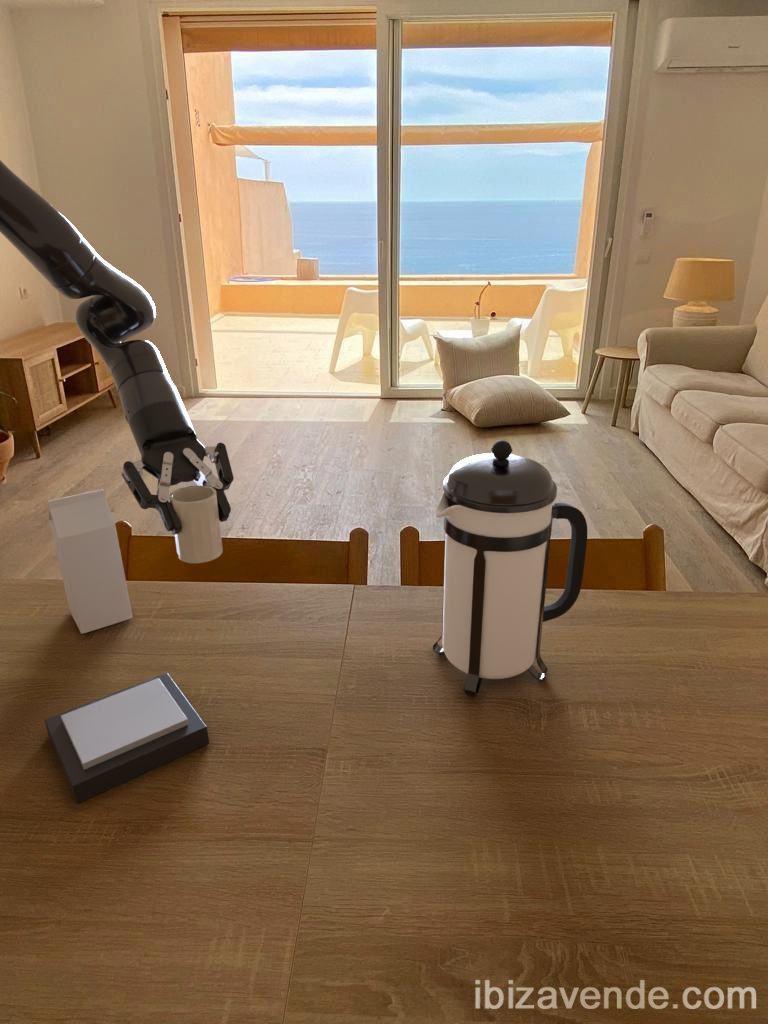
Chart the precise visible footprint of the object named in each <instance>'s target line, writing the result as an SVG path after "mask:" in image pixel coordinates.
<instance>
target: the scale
mask: <svg viewBox="0 0 768 1024" xmlns="http://www.w3.org/2000/svg"><path fill="white" fill-rule="evenodd" d="M44 723H45V727H46V731H47V734H48V737H49V739H50V742H51V745H52V747H53V750H54V752H55V755H56V757H57V760H58V761H59V764H60V767H61V769H62V771H63V773H64V776H65V778H66V781H67V783H68V786H69V788H70V791H71V793H72V795H73V798H74V800H75V802H76V804H77V805H78V804H80V803H82V802H85V801H87V800H88V799H91V798H93V797H95V796H97V795H100V794H102V793H104V792H107V791H109V790H112V788H115V787H117V786H119V785H122V784H124V783H126V782H128V781H130V780H133V779H134V778H137V777H139V776H141V775H144V774H146V773H148V772H150V771H152V770H154V769H157V768H159V767H162V766H163V765H165V764H168V763H170V762H172V761H174V760H176V759H178V758H182V756H185V755H187V754H190V753H192V752H195V751H196V750H199V749H201V748H203V747H205V746H207V745H209V744H210V739H209V733H208V726H207V725H206V723H204V721H203V719H202V718H201V717H200V715H199V714H198V712H197V711H196V710H195V708H194V707H193V705H191V703H190V702H189V700H188V699H187V697H186V696H185V695H184V693H183V692H182V691H181V689H180V688H179V687H178V686H177V684H176V682H175V681H174V680H173V679H172V677H171V675H170V674H169V673H168V672H164V673H163V674H160V675H156V676H154V677H152V678H150V679H147V680H144V681H142V682H139V683H137V684H134V685H131V686H129V687H126V688H124V689H123V688H122V689H121V690H118V691H116V692H113V693H110V694H108V695H105V696H102V697H101V698H97V699H95V700H92V701H89V702H87V703H83V704H82V705H79V706H75V707H74V708H71V709H69V710H66V711H64V712H61V713H58V714H56V715H53V716H50V717H48V718H45V719H44Z"/></svg>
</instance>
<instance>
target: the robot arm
mask: <svg viewBox="0 0 768 1024" xmlns="http://www.w3.org/2000/svg"><path fill="white" fill-rule="evenodd" d="M0 234H1V235H2V236H4V238H6V239H7V240H8V242H9V243H10V244H11V245H12V246H13V247H15V249H16V250H17V251H18V252H19V253H20V254H21V255H22V256H23V257H24V258H25V259H26V260H27V261H28V262H29V263H30V264H31V266H33V268H34V269H35V270H36V271H37V272H38V273H39V275H41V276H42V277H43V278H44V279H45V280H46V281H47V283H49V284H50V286H52V287H53V289H54V290H56V292H58V293H59V294H60V295H61V296H63V297H64V298H67V299H70V300H80V299H83V300H82V301H81V302H79V303H78V305H77V306H76V309H75V311H74V321H75V325H76V327H77V329H78V331H79V332H80V334H81V335H82V337H84V339H85V340H86V341H87V342H88V343H89V345H90V346H91V347H92V348H93V349H94V350H95V351H96V353H97V354H98V355H99V357H100V358H101V360H102V361H103V363H104V364H105V366H106V368H107V370H108V372H109V373H110V376H111V378H112V380H113V383H114V386H115V388H116V391H117V392H118V396H119V399H120V403H121V406H122V407H121V408H122V410H123V414H124V418H125V421H126V422H127V424H128V426H129V429H130V431H131V434H132V436H133V439H134V441H135V443H136V446H137V448H138V451H139V453H140V455H141V456H140V457H141V459H140V460H137V461H134V462H132V461H130V460H127V461H125V462H124V463H123V466H122V470H121V477H122V478H123V480H124V482H125V484H126V485H127V487H128V488H129V491H130V492H131V494H132V496H133V497H134V499H135V501H136V502H137V504H138V505H139V507H140V508H141V509H142V510H148V509H155V510H157V512H158V514H159V516H160V519H161V521H162V523H163V526H164V528H165V530H166V531H167V532H171V534H172V535H173V536H175V534H178V533H179V532H180V530H181V525H180V522H179V520H178V517H177V515H176V512H175V510H174V508H173V505H172V503H171V502H170V500H169V496H170V488H171V487H172V486H176V485H178V484H180V483H190V482H194V483H195V484H196V486H208V487H212V488H214V489H215V490H216V493H217V502H218V511H219V520H220V523H223V522H226V521H228V519H229V517H230V514H231V511H232V510H231V509H232V508H231V505H230V502H229V501H228V498H227V495H226V493H225V491H227V490H229V489H230V487H231V485H232V483H233V482H234V478H235V477H234V474H233V470H232V466H231V462H230V457H229V454H228V450H227V446H226V444H225V443H223V442H218V443H217V444H216V445H215V446H205V445H204V444H202V442H200V441H199V439H198V437H197V434H196V431H195V429H194V426H193V424H192V422H191V419H190V417H189V414H188V412H187V410H186V407H185V405H184V402H183V401H182V398H181V396H180V393H179V391H178V389H177V387H176V385H175V384H174V383H173V381H172V379H171V377H170V374H169V373H168V370H167V368H166V365H165V363H164V360H163V358H162V356H161V354H160V351H159V350H158V348H157V347H156V345H154V344H153V343H152V342H150V341H149V340H145V339H132V340H131V338H133V337H134V336H137V335H138V334H141V333H142V332H144V331H146V330H147V329H149V328H150V327H152V326H153V325H154V323H155V320H156V315H157V314H156V313H157V312H156V306H155V303H154V301H153V300H152V297H151V296H150V294H149V293H148V292H147V291H146V290H145V289H144V288H143V286H141V285H140V284H138V283H137V282H136V281H135V280H134V279H132V278H130V277H129V276H128V275H126V274H124V273H122V272H121V271H120V270H119V269H117V268H115V267H114V266H113V265H111V264H110V263H108V261H106V260H104V258H102V257H101V256H100V255H99V254H98V253H97V252H96V250H95V249H94V248H93V247H92V246H91V244H90V243H89V242H88V240H86V239H85V237H83V235H82V234H81V233H80V232H79V231H78V229H77V228H76V227H75V225H73V224H72V222H71V221H70V220H68V218H67V217H66V216H64V214H63V213H61V212H60V210H58V209H57V208H56V207H55V206H54V205H53V204H51V202H49V201H48V200H47V199H46V198H44V197H43V195H41V194H39V192H37V191H36V190H35V189H33V188H32V187H31V186H30V185H29V184H27V183H26V182H25V181H24V180H23V179H21V178H20V177H19V176H18V175H17V174H16V173H15V172H14V171H12V169H10V167H8V166H7V165H6V164H5V163H4V162H3V161H2V160H1V159H0ZM85 298H86V299H85ZM129 339H130V340H129ZM205 457H207V458H208V460H209V461H210V462H211V464H214V466H215V470H216V473H217V476H215V474H214V473H213V471H212V469H211V468H210V467H209V466H208V465H207V464H205V462H204V459H205ZM143 470H144V471H145V472H146V473H148V474H149V475H151V476H153V477H154V478H156V479H157V484H156V494H152V492H151V491H150V489H149V488H148V486H147V484H146V483H145V481H144V478H143V475H144V472H143Z"/></svg>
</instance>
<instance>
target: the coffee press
mask: <svg viewBox="0 0 768 1024" xmlns="http://www.w3.org/2000/svg"><path fill="white" fill-rule="evenodd" d="M490 451H491V453H489V452H488V453H482V454H476V455H472V456H469V457H466V458H464V459H462V460H460V461H459V462H457V463H456V464H454V465H453V467H452V468H451V469H450V471H449V473H448V475H447V476H446V477H445V478H444V480H443V485H442V486H443V488H442V489H443V491H442V494H441V496H440V498H439V500H438V501H439V502H438V505H437V507H436V510H435V516H436V518H442V517H443V531H444V549H443V550H444V551H443V581H442V582H443V583H442V585H443V586H442V614H441V615H442V618H441V619H442V620H441V635H440V636H439V637H438V638H437V639H436V641H435V642H434V643H433V645H432V650H433V651H434V652H435V653H436V654H440V655H441V654H443V653H444V656H445V657H446V658H447V660H448V661H449V663H451V664H452V666H453V667H455V668H456V669H458V670H459V671H461V672H463V673H465V674H467V677H466V682H465V686H464V695H469V696H472V697H477V696H478V694H479V690H480V686H481V684H482V681H483V679H485V680H486V679H487V680H502V679H508V678H509V679H510V678H513V677H515V676H519V675H521V674H522V673H524V672H526V671H528V672H529V674H531V675H532V676H533V678H534V679H536V680H538V681H542V680H545V679H546V677H547V674H548V671H549V670H548V666H547V665H546V664H545V662H544V661H543V659H542V656H541V645H542V644H541V643H542V632H543V623H544V622H549V621H550V620H551V621H552V620H554V619H558V618H559V617H561V616H563V615H565V614H566V613H567V612H568V611H569V610H571V609H572V608H573V606H574V605H575V603H576V602H577V600H578V598H579V596H580V592H581V589H582V584H583V578H584V571H585V563H586V555H587V554H586V553H587V546H588V545H587V544H588V524H587V520H586V516H585V515H584V513H583V512H582V511H581V510H580V509H579V508H577V507H576V506H574V505H572V504H569V503H565V502H555V500H556V499H557V496H558V486H557V483H556V482H555V481H554V480H553V477H552V474H551V473H550V472H549V470H548V469H547V467H545V466H544V465H542V464H541V463H540V462H538V461H536V460H534V459H531V458H529V457H526V456H522V455H518V454H512V453H513V448H512V445H511V444H510V442H508V441H507V440H503V439H500V440H496V441H495V442H494V443H493V445H492V447H491V448H490ZM554 502H555V503H554ZM553 503H554V504H553ZM553 519H557V520H562V519H563V520H567V521H568V523H569V525H570V529H571V531H570V532H571V535H570V545H569V552H568V553H569V555H568V562H567V573H566V581H565V586H564V590H563V593H562V594H561V595H560V597H559V598H558V599H557V600H556V601H555V602H553V603H551V604H548V605H545V603H546V602H545V601H546V593H547V583H548V572H549V571H548V570H549V561H550V553H551V552H550V550H551V537H552V530H553V522H554V521H553ZM441 640H442V646H440V645H439V642H440V641H441ZM535 661H536V664H537V666H538V667H539V669H540V671H541V672H539V671H538V669H537V668H536V667H535V666H534V665H533V664H534V663H535Z"/></svg>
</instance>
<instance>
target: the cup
mask: <svg viewBox="0 0 768 1024" xmlns="http://www.w3.org/2000/svg"><path fill="white" fill-rule="evenodd" d="M168 500H169V502H171V503H172V505H173V508H174V510H175V512H176V515H177V517H178V520H179V522H180V525H181V530H180V532H179V533H178V534H175V535H174V541H175V548H176V555H177V558H178V560H180V561H181V562H183V563H186V564H187V563H188V564H204V563H208V562H211V561H215V560H216V559H218V558H219V557H220V556H221V555H222V554H223V552H224V551H223V550H224V549H223V539H222V530H221V522H220V520H219V511H218V502H217V493H216V490H215V489H214V488H212V487H208V486H198V485H188V486H183V487H180V488H178V489H175V490H173V491H172V492H171V493H169V497H168Z"/></svg>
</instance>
